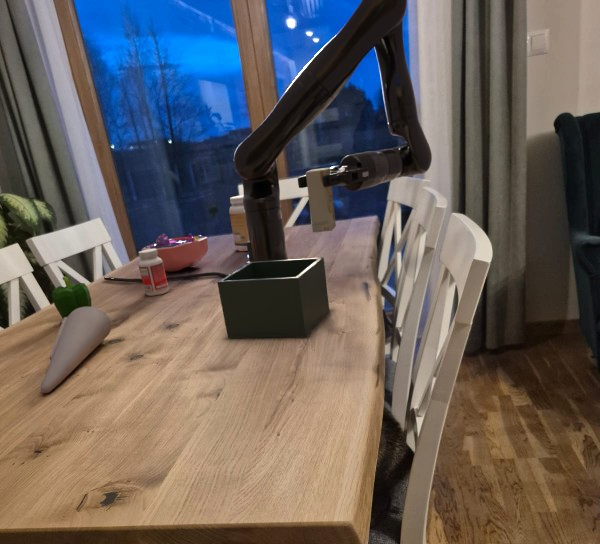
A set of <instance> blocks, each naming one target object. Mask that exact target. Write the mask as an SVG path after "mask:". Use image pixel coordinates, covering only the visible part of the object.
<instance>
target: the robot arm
mask: <svg viewBox="0 0 600 544" xmlns="http://www.w3.org/2000/svg"><path fill="white" fill-rule="evenodd" d="M407 8H408V0H361V1H360V3H359V4H358V6H357V8H356V9H355V10H354V12H353V13H352V14H351V16H350V17H349V19H348V20H347V22H346V23H345V24H344V25H343V27H342V28H341V29H340V30H339V31H338V32H337V34H335V36H334V37H332V38H331V39H330V40H329V41H328V42H327V43H326V44H325V45H324V46H323V47H322V48H321V49H320V50H319V51H318V52H317V53H316V54H315V55H314V57H313V58H312V59H311V60H310V61H309V62H308V63H307V64H306V65H305V66H304V67H303V69H302V70H301V71H300V72H299V73H298V75H297V76H296V77H295V79H294V80H293V81H292V83H291V84H290V85H289V86H288V88H287V89H286V90H285V92H284V93H283V94H282V96H281V97H280V99H279V100H278V101H277V103H276V105H275V106H274V108H272V110H271V111H270V113H269V114H268V116H267V117H266V118H265V119H264V120H263V122H262V123H260V125H258V127H256V129H254V130H253V132H252V133H250V134H249V135H248V136H247V137H246V138H245V139H244V140H243V141H242V142H240V143H239V144H238V146H237V147H236V149H235V151H234V155H233V165H234V169H235V172H236V173H237V174H238V176H239V177H240V178H241V181H242V189H243V194H242V195H243V206H244V212H245V218H246V224H247V230H248V237H249V242H247V250H248V251H247V258H248V261H247V262H245V264H244V265H242V266H240V267H238V268H237V269H236V270H238V269H240V268H241V267H243V266H245V265H246V264H248V263H250V262H257V261H273V260H289V258H288V257H289V256H288V249H287V243H286V236H285V235H286V234H285V228H284V219H283V214H282V207H281V187H280V180H279V179H280V178H279V171H278V164H277V163H278V162H277V159H278V158H279V157H280V155H281V154H282V152H283V151H284V150H285V148H286V147H287V146H288V145H289V144H290V143H291V141H292V140H293V139H294V138H295V137H296V136H298V135H299V134H301V132H303V131H304V130H305V129H306V128H307V127H308V126H310V125H311V124H312V123H313V122H315V120H316V119H318V118H319V116H321V114H322V113H323V112H324V111H325V110H327V108H328V107H329V106H330V104H332V102H333V101H334V99H336V98H337V96H338V95H339V94H340V93H341V91H342V90H343V89H344V87H345V86H346V84H347V83H348V82H349V80H350V79H351V77H352V76H353V74H354V73H355V71H356V70H357V69H358V67H359V65H360V64H361V62H362V61H363V60H364V58H366V56H367V55H368V54H369V52H371V51H372V50H373V49H374V51H375V55H376V60H377V64H378V71H379V75H380V83H381V90H382V91H381V92H382V98H383V105H384V110H385V116H386V122H387V128H388V131H389V133H390V135H391V136H395V137H401V138H402V139H403V141H404V142H405V144H404V145H398V146H394V147H391V148H384V149H378V150H368V151H363V152H362V151H361V152H357V153H352V154H348V155H347V154H346V156H344V157H343V158H342V159H341V161H340V163H339V165H333V166H331V167H329V168H330V173H331V174H329V175H324V176H323V178H322V179H323V186H324V187H330V186H332V187H333V186H335V187H338V186H341V187H343V188H344V189H346V190H347V191H349V192H356V191H361V190H365V189H369V188H373V187H376V186H378V185H381V184H383V183H388V182H391V181H393V180H395V179H399V178H400V179H401V178H405V177H406V178H407V177H412V176H413V177H414V176H420V175H423V174H426V173H427V172H428V170H429V169H430V167H431V165H432V159H433V154H432V150H431V146H430V143H429V142H428V140H427V137H426V135H425V132H424V130H423V128H422V125H421V123H420V120H419V115H418V108H417V102H416V96H415V89H414V85H413V82H412V78H411V73H410V71H409V66H408V63H407V57H406V53H405V52H406V51H405V44H404V18H405V16H406V12H407ZM297 185H298V188H299V189H305V188H308V187H307V179H306V175H302V176H298V177H297ZM230 274H231V273H223V272H219V271H209V272H200V273H192V274H182V275H173V276H172V275H171V276H166V278H167V281H174V280H185V279H195V278H203V277H222V278H225V277H226V276H228V275H230ZM105 277H106V276H104V277H103V280H104V281H111V282H123V283H143V282H142V278H126V277H125V278H123V277H111V276H108V277H109V278H105ZM111 278H114V279H111Z"/></svg>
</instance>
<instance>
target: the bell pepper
mask: <svg viewBox="0 0 600 544" xmlns="http://www.w3.org/2000/svg"><path fill="white" fill-rule="evenodd" d="M61 278H62V280H63V281H64V285H65V286H61V285H60V286H57V287H56V288H55V289H54V290H52V293H51V299H52V302H53V304H54V306H55V309H56V311H57V312H58V314H59V315H60V317H61V318H62V320H63V319H64V317H68V316H69V315H70V314H71V312H73V311H74V310H76V309H78V308H81V307H93V305H92V297H91V294H90V290H89V288H88V286H87V285H86V283H84V282H79V283H75V284H74V283H71V282H70V280H69V278H68V277H67V275H66V276H65V275H63V276H62V277H61Z"/></svg>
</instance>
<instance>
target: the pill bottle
mask: <svg viewBox="0 0 600 544" xmlns="http://www.w3.org/2000/svg"><path fill="white" fill-rule="evenodd" d="M157 255H158V252H157V249H147V250H140V251H138V257H139V259H140V260H139V261H138V265H137V266H138V270H139V273H140V279H142V282H141V283H142V286H143V290H144V294H145V295H146V296H148V297H154V296H160V295H163V294H166V293H168V292H169V291H170V287H169V283H168V280H167V278H166V277H167V275H166V271H165V270H164V266H163V261H162V259H161V258H159V257H157Z"/></svg>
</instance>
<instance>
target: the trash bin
mask: <svg viewBox="0 0 600 544" xmlns="http://www.w3.org/2000/svg"><path fill="white" fill-rule="evenodd" d="M244 265H245V266H244ZM244 265H242V266H243V267H242V266H240V267H241V268H240V267H239V268H240V269H238V268H237V269H238V270H237V269H236V270H234V271H233V272H231V273H229V274H230V275H228V276H226V277H222V279H220V280H218V281H217V287H218V294H219V299H220V304H221V311H222V314H223V320H224V326H225V329H226V336H227V339H274V338H275V339H277V338H278V339H279V338H281V339H282V338H285V339H286V338H287V339H288V338H307V337H308V336H309V334H310V333H311V332H312V331H313V330H314V329H315V328H316V327H317V326H318V325H319V323H320V322H321V320H323V319H324V317H325V316H326V315H327V314H328V313H329V312H330V303H329V294H328V283H327V278H326V266H325V257H309V258H307V257H306V258H292V259H289V258H288V260H273V261H257V262H250V263H248V264H246V263H245V264H244Z"/></svg>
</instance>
